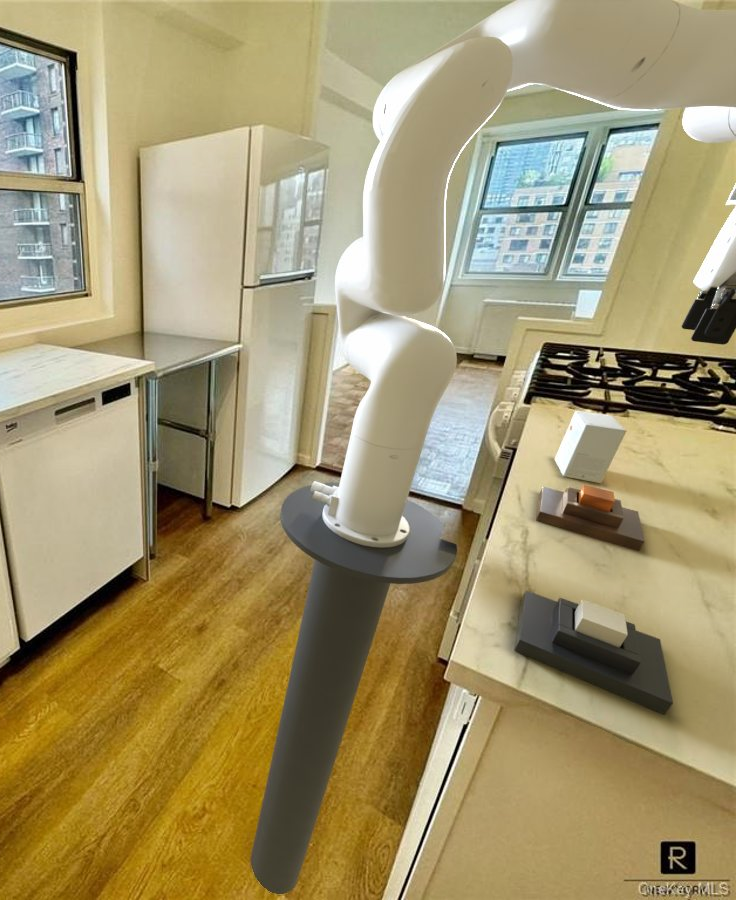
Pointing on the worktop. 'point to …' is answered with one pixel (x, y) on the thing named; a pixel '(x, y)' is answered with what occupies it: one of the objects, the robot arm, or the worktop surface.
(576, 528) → the stepped brown stand
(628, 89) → the robot arm
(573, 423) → the small box
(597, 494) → the key
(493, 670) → the worktop surface
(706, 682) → the worktop surface
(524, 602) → the stepped grey stand
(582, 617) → the key
